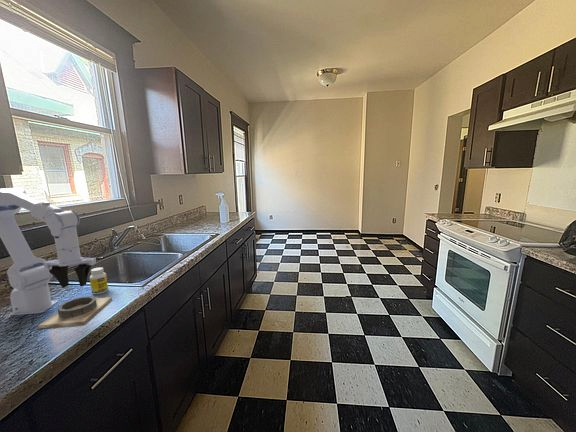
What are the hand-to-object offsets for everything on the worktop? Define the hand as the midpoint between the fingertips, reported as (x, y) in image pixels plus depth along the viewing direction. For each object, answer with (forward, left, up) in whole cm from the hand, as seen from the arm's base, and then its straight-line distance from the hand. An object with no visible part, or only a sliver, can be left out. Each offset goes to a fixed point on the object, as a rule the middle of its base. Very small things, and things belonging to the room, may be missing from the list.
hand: (74, 285), depth 84 cm
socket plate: (0, 0, -10) cm, 10 cm away
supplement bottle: (-2, +16, -10) cm, 19 cm away
